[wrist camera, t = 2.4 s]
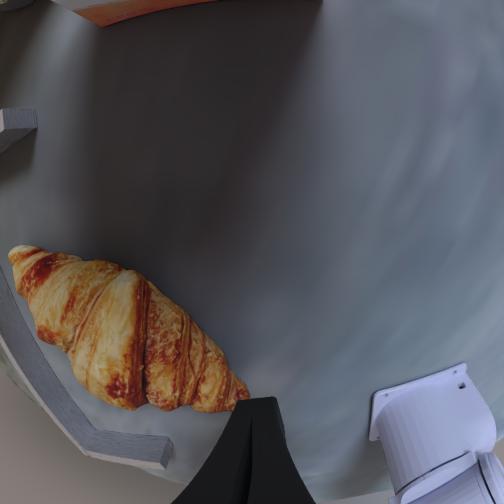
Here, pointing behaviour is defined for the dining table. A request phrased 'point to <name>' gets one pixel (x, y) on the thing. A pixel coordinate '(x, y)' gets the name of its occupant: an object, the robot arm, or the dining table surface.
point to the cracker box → (119, 8)
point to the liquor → (14, 4)
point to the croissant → (123, 334)
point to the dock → (40, 373)
